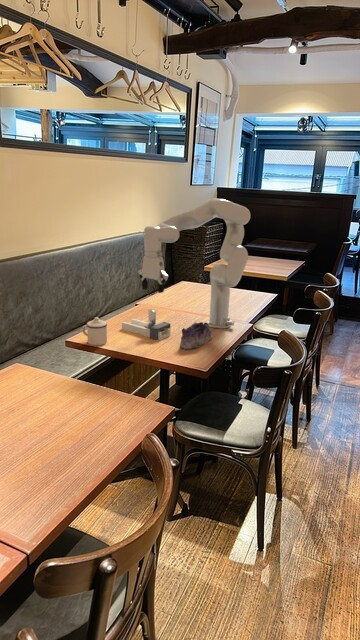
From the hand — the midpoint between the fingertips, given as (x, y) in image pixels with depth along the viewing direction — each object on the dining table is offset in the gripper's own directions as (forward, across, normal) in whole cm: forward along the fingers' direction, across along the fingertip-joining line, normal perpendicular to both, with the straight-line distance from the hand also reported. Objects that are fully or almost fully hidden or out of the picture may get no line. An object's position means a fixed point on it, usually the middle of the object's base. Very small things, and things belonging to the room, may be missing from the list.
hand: (152, 290), depth 210 cm
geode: (+22, -23, -3) cm, 32 cm away
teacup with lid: (+21, +13, +26) cm, 36 cm away
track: (+21, +4, 0) cm, 22 cm away
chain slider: (+20, -2, 0) cm, 20 cm away
